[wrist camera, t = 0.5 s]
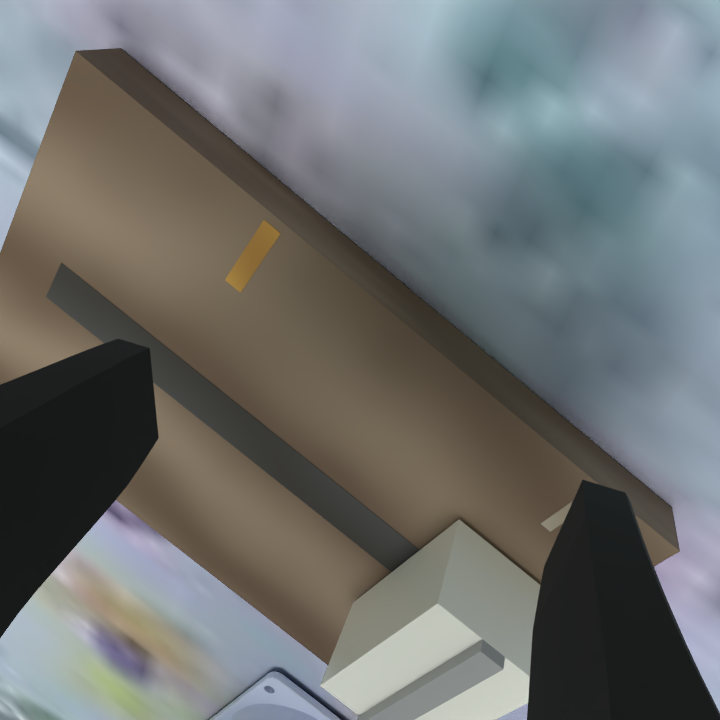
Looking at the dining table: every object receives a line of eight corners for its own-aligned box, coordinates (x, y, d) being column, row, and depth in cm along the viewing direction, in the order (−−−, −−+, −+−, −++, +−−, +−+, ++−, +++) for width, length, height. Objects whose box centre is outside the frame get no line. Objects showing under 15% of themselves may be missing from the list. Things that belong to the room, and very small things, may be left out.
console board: (406, 674, 28) (395, 717, 26) (-5, 351, 27) (-46, 374, 25) (672, 507, 21) (679, 551, 19) (120, 48, 19) (75, 51, 18)
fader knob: (437, 668, 24) (413, 772, 21) (353, 602, 24) (315, 696, 20) (554, 596, 21) (548, 705, 17) (458, 519, 21) (435, 614, 17)
